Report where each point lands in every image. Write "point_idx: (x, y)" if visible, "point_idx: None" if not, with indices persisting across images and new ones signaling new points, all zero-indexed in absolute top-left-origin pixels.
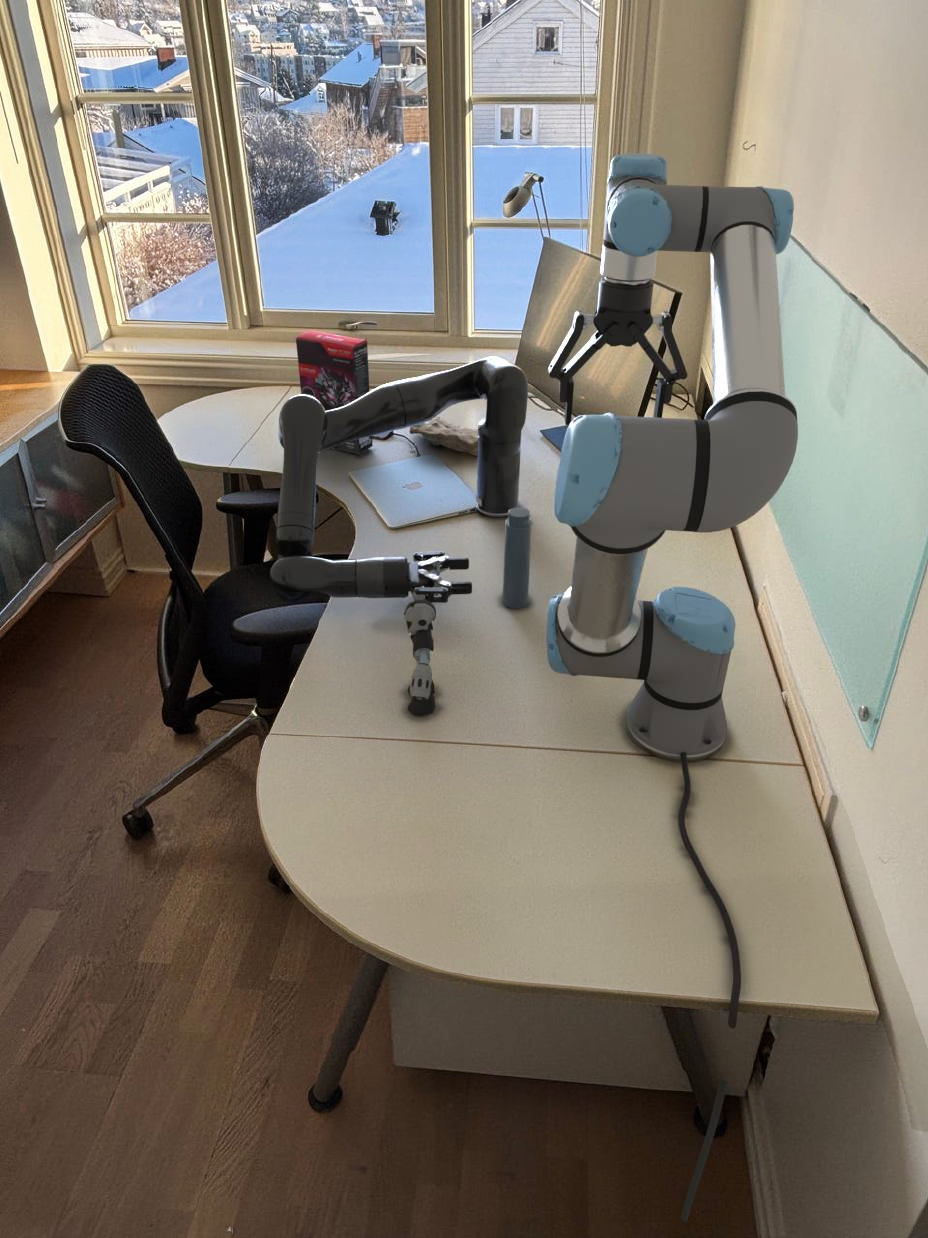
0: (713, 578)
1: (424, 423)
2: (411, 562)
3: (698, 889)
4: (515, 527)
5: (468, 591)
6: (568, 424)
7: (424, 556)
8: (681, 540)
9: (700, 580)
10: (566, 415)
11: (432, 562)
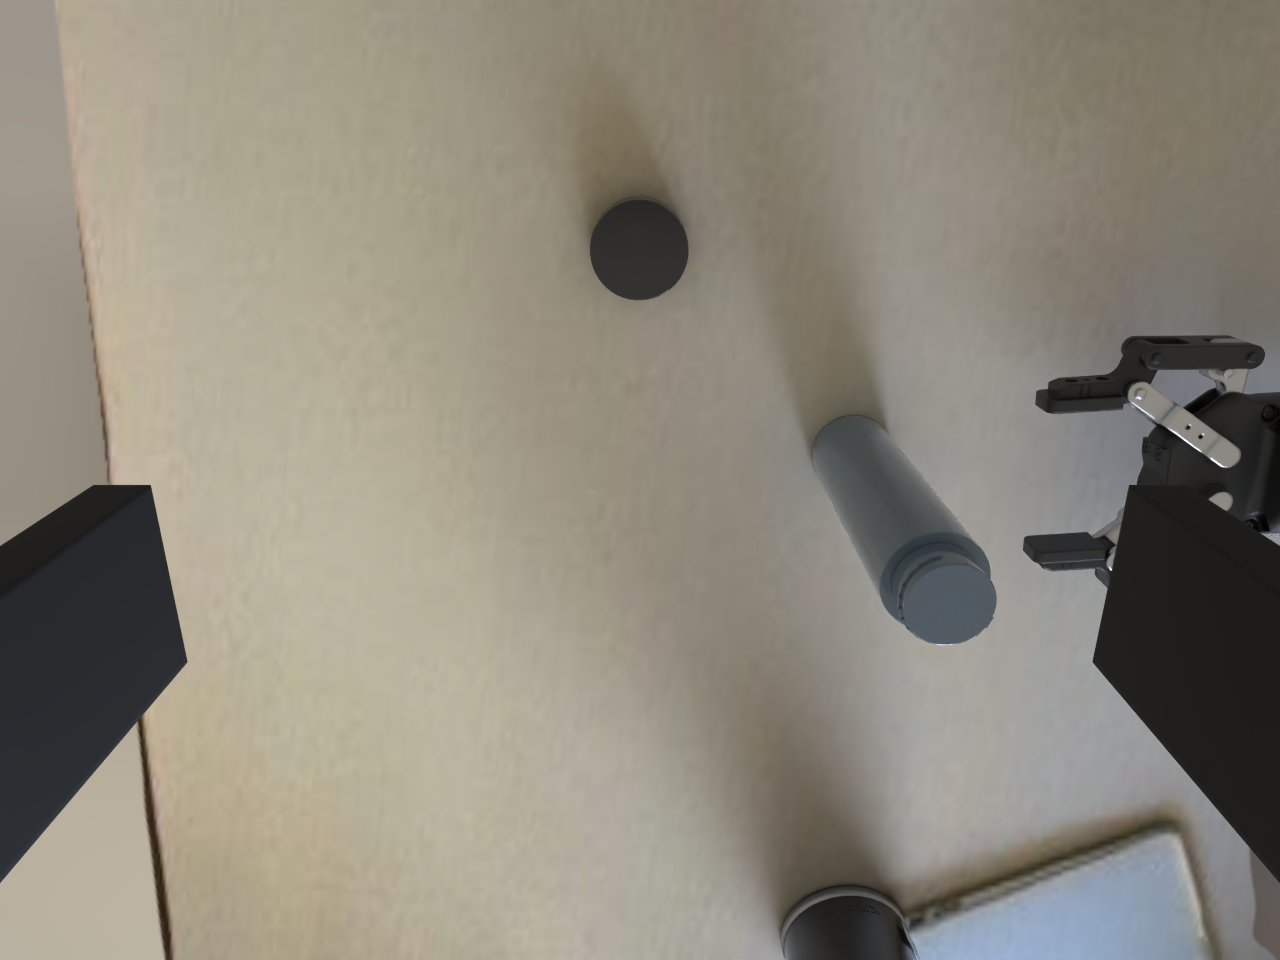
0: (224, 589)
1: None
2: None
3: None
4: (955, 542)
5: (1054, 383)
6: (1160, 489)
7: None
8: (309, 783)
9: (265, 578)
10: (1260, 534)
11: None
